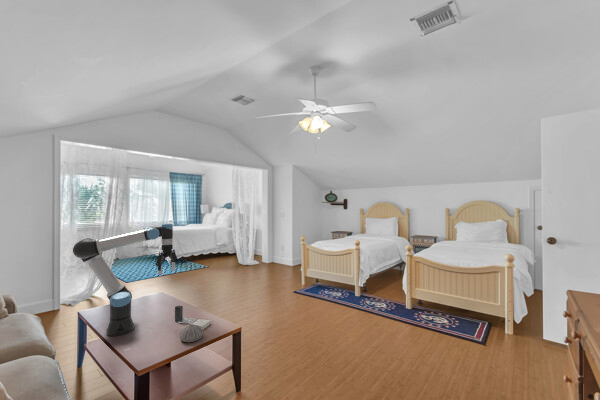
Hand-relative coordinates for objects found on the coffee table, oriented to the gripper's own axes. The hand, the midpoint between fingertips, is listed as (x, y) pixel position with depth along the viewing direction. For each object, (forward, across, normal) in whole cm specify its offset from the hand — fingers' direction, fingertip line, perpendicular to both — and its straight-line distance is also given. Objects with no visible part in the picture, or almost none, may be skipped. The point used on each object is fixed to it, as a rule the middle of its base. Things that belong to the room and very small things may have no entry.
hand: (167, 272), depth 206 cm
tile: (+30, -11, -32) cm, 45 cm away
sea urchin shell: (+32, -28, -42) cm, 59 cm away
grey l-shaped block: (+31, -7, -21) cm, 38 cm away
